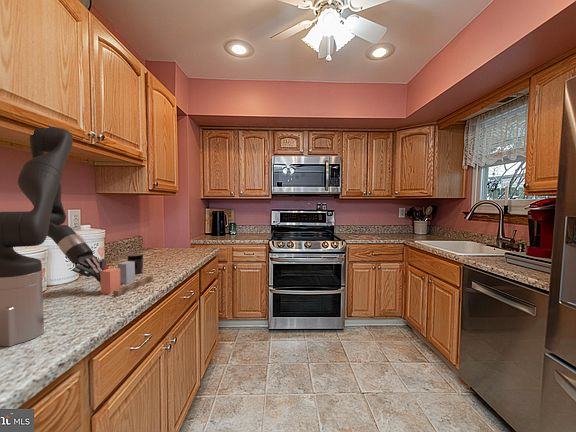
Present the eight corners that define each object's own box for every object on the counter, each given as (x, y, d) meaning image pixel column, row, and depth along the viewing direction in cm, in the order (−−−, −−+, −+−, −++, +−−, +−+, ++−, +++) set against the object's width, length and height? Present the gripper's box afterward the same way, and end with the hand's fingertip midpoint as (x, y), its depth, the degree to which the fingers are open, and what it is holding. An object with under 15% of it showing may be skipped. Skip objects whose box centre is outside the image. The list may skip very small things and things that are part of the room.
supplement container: (142, 277, 127) (142, 255, 126) (126, 278, 124) (125, 256, 124) (144, 273, 133) (144, 253, 133) (128, 274, 131) (128, 253, 130)
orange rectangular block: (110, 294, 99) (110, 271, 99) (100, 293, 100) (100, 271, 99) (120, 289, 104) (120, 268, 104) (111, 289, 105) (110, 268, 104)
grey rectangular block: (126, 284, 111) (126, 264, 111) (118, 283, 112) (117, 263, 111) (135, 280, 116) (134, 261, 116) (126, 280, 117) (126, 261, 116)
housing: (118, 299, 97) (118, 291, 97) (85, 297, 99) (85, 289, 99) (152, 283, 117) (152, 276, 117) (125, 282, 119) (125, 275, 118)
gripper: (64, 244, 96) (95, 279, 95) (95, 239, 109) (123, 270, 108) (52, 258, 97) (83, 293, 96) (84, 252, 110) (111, 282, 109)
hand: (104, 281), depth 102 cm, fingers closed
